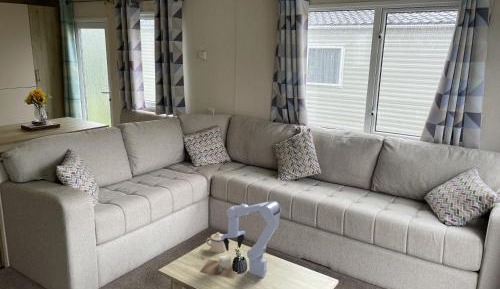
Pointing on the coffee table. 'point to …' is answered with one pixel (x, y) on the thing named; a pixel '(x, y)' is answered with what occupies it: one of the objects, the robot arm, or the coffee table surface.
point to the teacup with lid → (216, 243)
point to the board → (214, 267)
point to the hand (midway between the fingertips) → (233, 248)
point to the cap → (225, 261)
